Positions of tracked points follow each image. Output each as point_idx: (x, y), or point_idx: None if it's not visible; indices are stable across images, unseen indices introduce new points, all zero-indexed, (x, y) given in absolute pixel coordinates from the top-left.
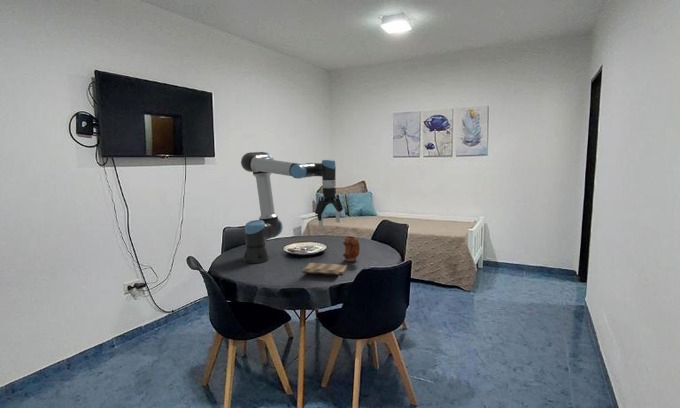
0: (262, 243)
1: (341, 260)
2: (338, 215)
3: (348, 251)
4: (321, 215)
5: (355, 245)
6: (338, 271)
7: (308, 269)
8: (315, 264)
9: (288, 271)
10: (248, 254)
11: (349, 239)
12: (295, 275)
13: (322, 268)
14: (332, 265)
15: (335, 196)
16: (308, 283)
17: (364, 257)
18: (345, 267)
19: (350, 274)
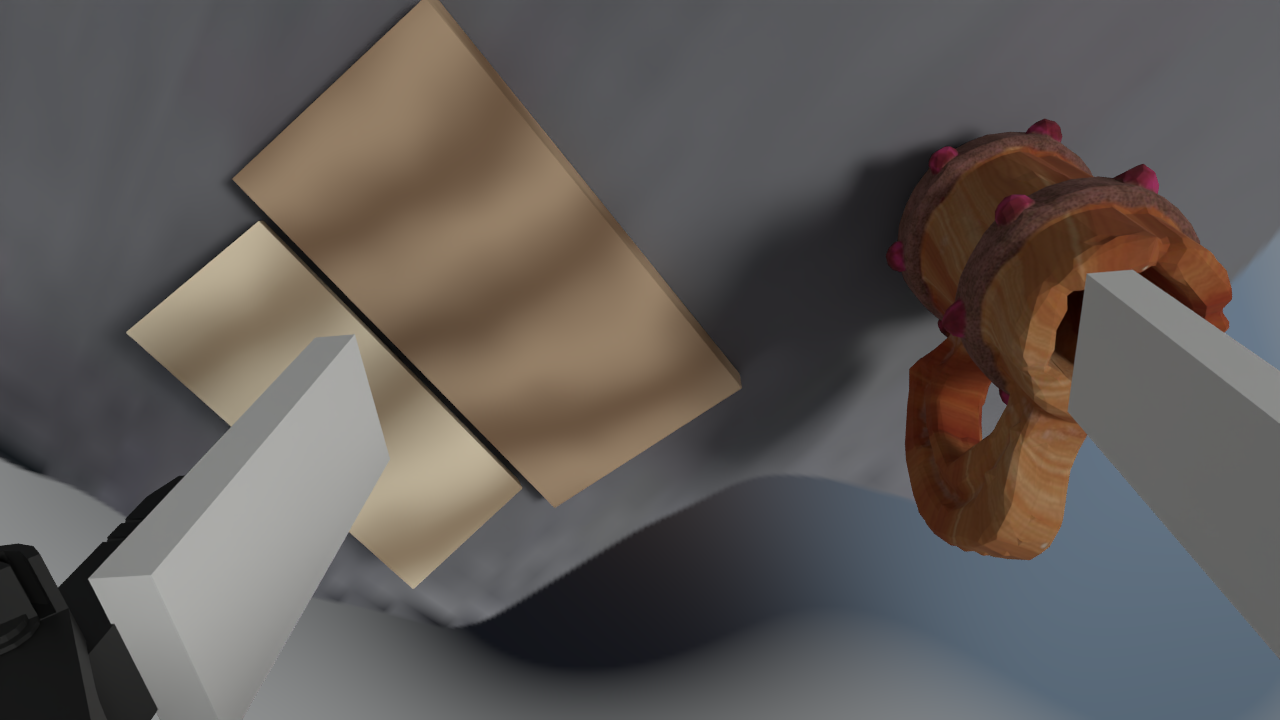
0: None
1: (897, 125)
2: (1202, 543)
3: (944, 293)
4: (175, 699)
5: (936, 513)
6: (488, 518)
7: (183, 380)
8: (454, 116)
9: (92, 11)
10: None
11: (1026, 387)
12: (126, 196)
13: (442, 297)
14: (599, 292)
15: None
16: (167, 452)
17: (1202, 237)
18: (664, 433)
19: (615, 526)
